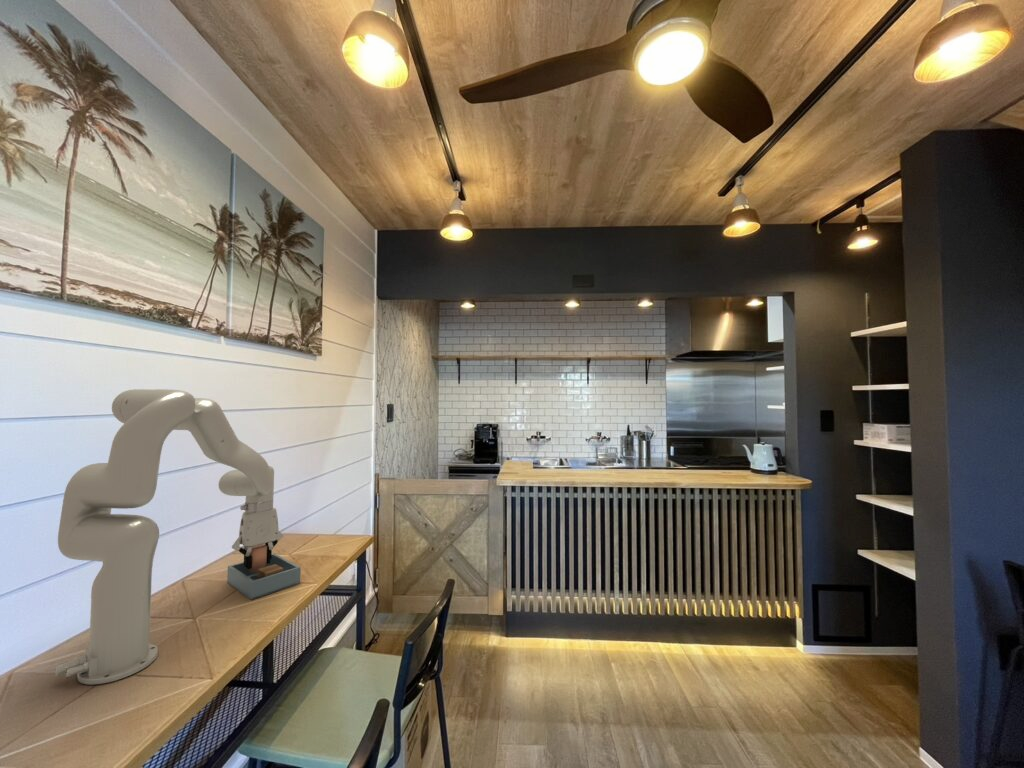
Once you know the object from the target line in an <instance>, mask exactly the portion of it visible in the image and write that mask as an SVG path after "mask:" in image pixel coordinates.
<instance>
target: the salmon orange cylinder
mask: <svg viewBox="0 0 1024 768" xmlns="http://www.w3.org/2000/svg"><path fill="white" fill-rule="evenodd" d="M250 555H251V556H252V568H251V569H248V572H249V573H257V572H258V569H260V568H264V567H267V545H266V544H261V545H256V546H252V550H251V553H250Z"/></svg>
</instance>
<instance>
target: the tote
mask: <svg viewBox="0 0 1024 768" xmlns="http://www.w3.org/2000/svg"><path fill="white" fill-rule="evenodd" d="M274 564H277V565H278V566H280V567H282V568H283V572H280V573H277V574H273V575H270V576H267V577H264V578H261V579H258V572H257V573H249V572H248V568H246V567H245V566H244V561H242V562H238V563H235V564H231V565H228V566H227V579H226V580H227V584H228V585H229V586H231V587H232V588H234V590H237V591H238V593H241V594H242V595H244V596H245V597H246V598H247V599H249V600H250V599H251V600H250V601H253V599H254V600H257V599H259V598H262V597H265V596H268V595H271V594H275V593H277V592H279V591H282V590H283V591H284V590H285V589H289V588H292V587H295V586H298V585H300V584H301V569H302V568H301V566H299V565H297V564H295V563H294V562H291V561H290V560H287V559H286V558H284V557H282V556H280V555H278V554H276V553H272V558H271V559H270V563H269V564H268V563H267V566H270V565H274Z"/></svg>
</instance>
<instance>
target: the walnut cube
mask: <svg viewBox="0 0 1024 768" xmlns="http://www.w3.org/2000/svg"><path fill="white" fill-rule="evenodd" d="M280 572H283V568H282V567H280V566H278V565H277V564H274V565H270V566H267V567H264V568H260V569H258V579H261V578H264V577H267V576H270V575H273V574H277V573H280Z"/></svg>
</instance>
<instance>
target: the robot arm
mask: <svg viewBox="0 0 1024 768" xmlns="http://www.w3.org/2000/svg"><path fill="white" fill-rule="evenodd" d="M111 412H112V415H113V416H114V418H116V420H117V421H119V422H120V423H122V425H121V426H120V428H119V429H118V431H116V434H115V435H114V437H113V440H112V443H111V447H110V450H109V456H108V462H97V463H92V464H89V465H86V466H84V467H82V468H80V469H79V470H78V471H76V472H75V473H74V474H73V475H72V476H71V477H70V479H69V481H68V483H67V484H66V486H65V491H64V493H63V499H62V505H61V513H60V519H59V525H58V526H59V527H58V534H57V546H58V550H59V552H60V553H61V554H62V555H63V556H64V557H66V558H68V559H70V560H77V561H89V562H90V561H91V562H92V561H93V562H101V563H102V566H101V568H100V570H99V571H98V573H97V575H96V576H95V578H94V580H93V582H92V585H91V590H90V591H91V592H90V619H89V621H90V622H89V641H88V642H89V644H88V647H89V648H87V649H84V654H83V655H81V656H78V657H77V659H75V660H71V661H67V662H64V663H61V664H58V665H55V670H54V671H55V673H54V675H55V677H58V676H62V675H64V674H66V675H65V677H66V678H68V677H71V676H75V675H77V681H78V682H79V683H81V684H85V685H92V686H93V685H102V684H107V683H111V682H116V681H118V680H121V679H124V678H127V677H129V676H132V675H134V674H136V673H138V672H140V671H142V670H143V669H145V668H147V667H149V666H150V665H151V664H152V663H153V662H155V660H156V659H157V657H158V655H159V648H158V646H157V645H156V644H153V643H150V641H151V640H150V639H151V638H150V635H151V608H152V607H151V606H152V578H153V577H152V576H153V566H154V558H155V554H156V550H157V547H158V543H159V539H160V529H159V528H160V527H159V525H158V524H157V523H156V521H154V520H153V519H152V518H150V517H147V516H143V515H138V514H122V513H112V509H124V510H125V509H127V510H128V509H138V508H141V507H144V506H145V505H148V504H149V503H150V502H151V501H152V500H153V498H154V497H155V493H156V491H157V487H158V478H159V472H160V471H159V470H160V463H161V455H162V450H163V446H164V443H165V441H166V439H167V438H168V436H170V434H171V433H172V431H188V432H190V434H191V435H192V437H193V438H194V440H195V442H196V443H197V444H198V446H199V448H200V449H201V451H202V453H203V455H204V456H205V457H206V458H208V459H209V460H211V461H214V462H216V463H219V464H221V465H225V466H228V467H231V468H233V470H229V471H227V472H225V473H224V474H223V475H222V476H220V478H219V481H218V489H219V491H220V492H221V493H222V494H224V495H225V496H230V497H232V496H233V497H245V502H244V504H243V505H240V508H239V509H240V510H241V511H244V512H242V515H241V519H240V523H239V532H238V537H237V538H236V540H235V541H234V542H233V544H232V546H231V549H232V550H234V551H237V552H239V553H240V554H242V555H243V562H244V566H245V567H246V568H248V569H251V568H252V556H251V555H250V553H251V550H252V546H256V545H261V544H266V545H267V563H268V564H269V563H270V559H271V558H272V554H273V553H272V552H273V550H274V548H275V546H276V545H277V544H278V542H279V541H281V539H282V538H283V537H284V535H283V533H281V531H280V530H279V518H278V517H279V516H278V512H277V508H275V507H274V489H275V470H274V467H272V466H269V464H268V462H267V461H266V459H265V458H264V457H263V456H262V455H261V454H260V453H259V452H257V451H256V450H254V449H253V448H252V447H250V446H249V445H248V444H246V443H245V442H242V441H241V440H240V439H239V438H238V437H237V435H236V433H235V431H234V430H233V427H232V426H231V424H230V422H229V420H228V418H227V417H226V414H225V413H224V411H223V409H222V408H221V406H220V404H219V403H218V402H216V401H215V400H213V399H210V398H202V397H200V398H199V397H198V398H197V397H194V395H192V394H191V393H189V392H187V391H185V390H181V389H180V390H179V389H167V388H165V389H163V388H162V389H159V388H158V389H156V388H155V389H144V388H143V389H142V388H141V389H139V388H138V389H128V390H125V391H122V392H120V393H119V394H118V395H117V396H116V397H115V398H114V399H113V401H112V404H111ZM240 545H242V546H243V547H242V546H240Z"/></svg>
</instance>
